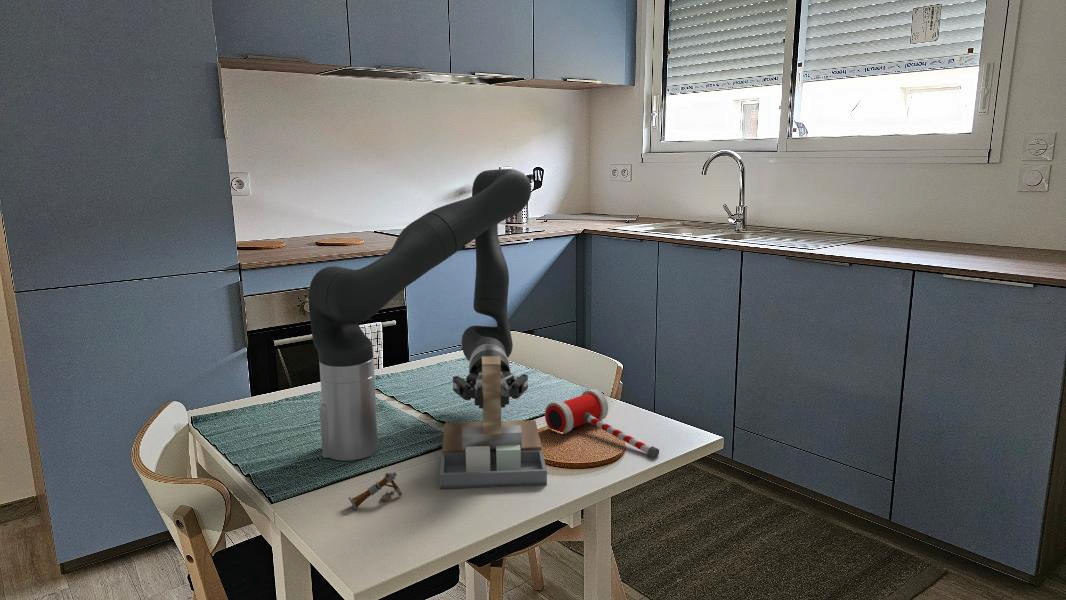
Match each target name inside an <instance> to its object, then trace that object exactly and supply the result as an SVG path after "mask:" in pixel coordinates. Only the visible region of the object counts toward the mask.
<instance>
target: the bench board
mask: <svg viewBox="0 0 1066 600" xmlns="http://www.w3.org/2000/svg"><path fill="white" fill-rule="evenodd" d="M443 425H444V428H443V437H442V445H441V447H442V448H441V454H442V453H464V452H466V450H463V442H462V427H483V421H472V422H471V421H469V422H445V423H444V424H443ZM515 425H521V431H522V448H520V449H521V450H542V451H543V448H542V444H541V440H540V439H541V438H540V435H539V431H538V426H537V422H536V420H535V419H534V420H532V419H531V420H504V421H502V420H501V426H515ZM492 451H496V449H490V452H492Z"/></svg>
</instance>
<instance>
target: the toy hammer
mask: <svg viewBox="0 0 1066 600" xmlns="http://www.w3.org/2000/svg"><path fill="white" fill-rule="evenodd" d="M608 413H609V404H608V401H607V398H606V397H605V395H604V394H603V392H601V391H600V390H599V389H596V388H592V389H588V390H586V391H584V392H582V394H581V395H579V396H576V397H573V398H570V399H566V400H564V401H562V400H556V401H552V402H550V403H548V404H547V405H546V407H545V410H544V420H545V423H546V426H547V427H549V428H551V429H554V430H557V431H560V432H563V433H566V434H568V433H567V432H569V431H570V432H571V431H572V430H573V429H574V428H577V427H579V426H582V425H585V424H587V423H590V424H592V425H593V426H596V427H597V428H599V429H600V430H603V431H605V432H607V433H609V434H610V435H612V436H614V437H616V438H618V439H619V440H621V441H623V442H625V443H627V444H628V445H631V446H633V447H635V448H636V449H638V450H640V451H642V452H644V453H646V454H647V456H648V457H649V458H651V459H655V458H657V457H658V456H659V454H660V449H659V448H657V447H655V446H653V445H652V446H650V445H647V444H645V443H644V442H642V441H640V440H639V439H636V438H635V437H633V436H631V435H629V434H627V433H626V432H623V431H621V430H620V429H617V428H616V427H614V426H612V425H610V424H608V423H607V422H604V421H603V420H604V419H606V418H607V416H608ZM549 428H548V429H549ZM570 432H569V433H570Z"/></svg>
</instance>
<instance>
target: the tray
mask: <svg viewBox="0 0 1066 600" xmlns="http://www.w3.org/2000/svg"><path fill="white" fill-rule="evenodd" d="M440 456H441V458H440V466H439V467H440V468H439V489H440V490H448V489H449V490H450V489H451V490H453V489H476V488H477V489H478V488H479V489H480V488H502V487H504V488H505V487H528V486H530V487H531V486H547V485H548V470H547V464H546V460H545V457H544V456H545V455H544V451H543V449H542V450H521V470H507V471H496V451H492V452H490V471H481V472H466V452H464V453H442V452H441V455H440Z"/></svg>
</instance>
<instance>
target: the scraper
mask: <svg viewBox="0 0 1066 600" xmlns="http://www.w3.org/2000/svg"><path fill="white" fill-rule="evenodd" d="M482 390H483V408H482V422H483V427H462V442H463V450H466V447H474V446H490V449H496V446H503V445H520V448H522V431H521V425H515V426H501V421H502V408H501V361H500V356H487V357H482Z"/></svg>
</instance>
